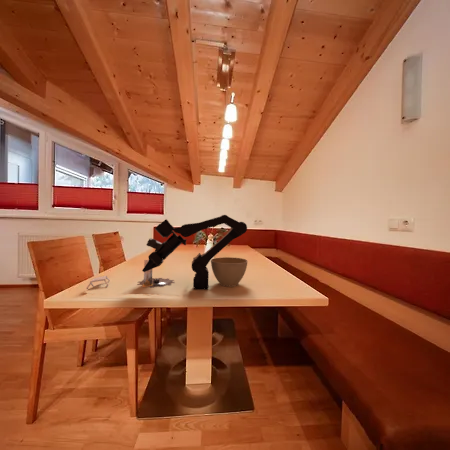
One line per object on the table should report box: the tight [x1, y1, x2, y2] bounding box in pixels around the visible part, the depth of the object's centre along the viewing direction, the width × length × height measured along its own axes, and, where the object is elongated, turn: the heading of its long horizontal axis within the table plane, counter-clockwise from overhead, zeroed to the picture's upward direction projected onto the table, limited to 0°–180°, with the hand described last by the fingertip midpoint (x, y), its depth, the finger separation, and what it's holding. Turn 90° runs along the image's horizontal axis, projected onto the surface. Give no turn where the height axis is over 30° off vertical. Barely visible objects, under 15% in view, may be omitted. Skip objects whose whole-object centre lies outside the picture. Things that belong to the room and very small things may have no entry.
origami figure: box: [86, 275, 111, 290], centre depth 106 cm, size 12×8×5 cm
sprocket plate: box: [137, 277, 176, 289], centre depth 114 cm, size 17×17×3 cm
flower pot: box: [210, 256, 248, 287], centre depth 119 cm, size 18×18×12 cm
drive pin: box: [143, 259, 153, 287], centre depth 109 cm, size 4×4×11 cm
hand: (145, 269), depth 108 cm, fingers open, 9 cm apart
